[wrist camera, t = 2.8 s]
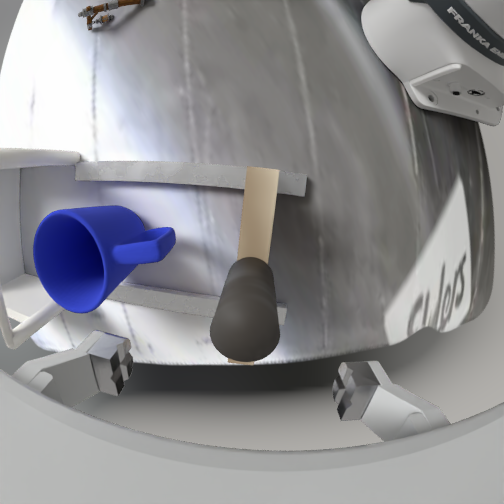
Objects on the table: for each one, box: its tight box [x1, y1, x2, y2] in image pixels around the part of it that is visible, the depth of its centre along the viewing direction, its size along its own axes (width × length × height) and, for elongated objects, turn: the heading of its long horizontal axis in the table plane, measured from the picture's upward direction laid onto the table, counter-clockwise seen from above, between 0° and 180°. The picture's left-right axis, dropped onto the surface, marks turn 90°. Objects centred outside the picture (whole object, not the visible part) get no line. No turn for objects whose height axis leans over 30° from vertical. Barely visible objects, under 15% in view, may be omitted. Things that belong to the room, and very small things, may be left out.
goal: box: [0, 148, 80, 349], centre depth 20 cm, size 13×18×14 cm
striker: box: [210, 166, 280, 365], centre depth 18 cm, size 3×14×14 cm, turn 174°
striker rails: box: [75, 161, 307, 325], centre depth 26 cm, size 24×15×1 cm, turn 84°
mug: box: [33, 206, 176, 313], centre depth 21 cm, size 8×12×10 cm
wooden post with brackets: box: [78, 0, 144, 31], centre depth 18 cm, size 2×8×4 cm, turn 108°
